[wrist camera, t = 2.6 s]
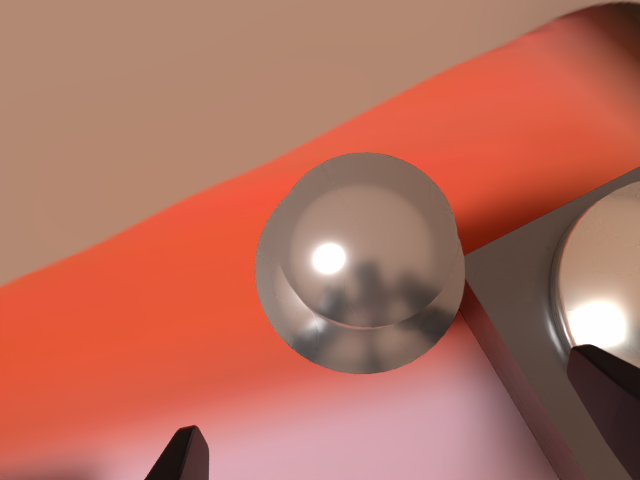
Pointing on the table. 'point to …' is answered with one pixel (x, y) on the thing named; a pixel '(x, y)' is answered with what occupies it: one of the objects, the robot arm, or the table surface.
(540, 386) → the bench scale
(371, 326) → the steel weight
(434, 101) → the table surface
